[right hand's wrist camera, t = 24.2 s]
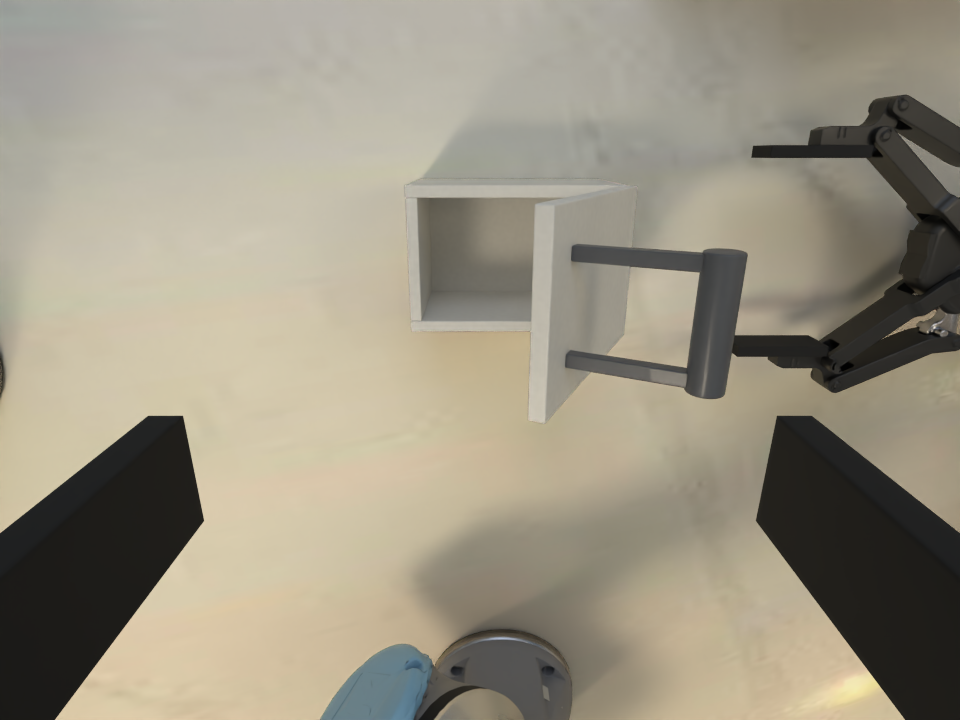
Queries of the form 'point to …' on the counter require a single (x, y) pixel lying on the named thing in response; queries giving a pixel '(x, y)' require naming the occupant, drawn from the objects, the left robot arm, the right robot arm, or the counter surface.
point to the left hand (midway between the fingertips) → (744, 254)
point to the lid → (616, 301)
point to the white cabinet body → (477, 250)
